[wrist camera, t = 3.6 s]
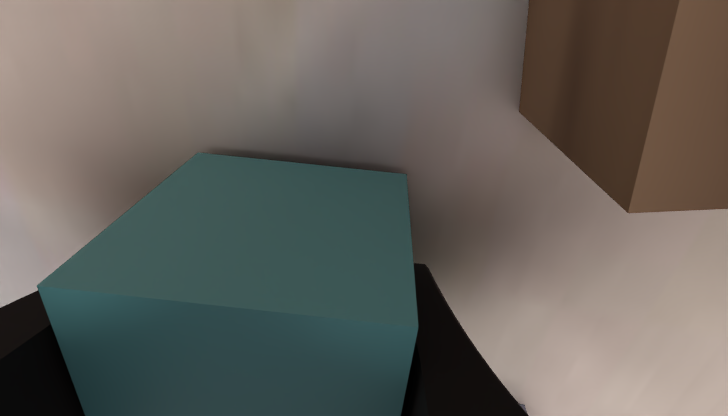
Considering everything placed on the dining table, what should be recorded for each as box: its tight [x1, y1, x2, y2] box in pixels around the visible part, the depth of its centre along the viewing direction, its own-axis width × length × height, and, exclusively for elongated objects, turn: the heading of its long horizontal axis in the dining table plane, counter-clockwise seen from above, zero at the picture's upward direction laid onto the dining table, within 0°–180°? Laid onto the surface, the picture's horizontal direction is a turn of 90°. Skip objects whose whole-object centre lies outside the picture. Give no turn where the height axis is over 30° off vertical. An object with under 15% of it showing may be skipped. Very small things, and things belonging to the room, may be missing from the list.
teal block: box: [37, 153, 418, 416], centre depth 9 cm, size 5×5×5 cm
